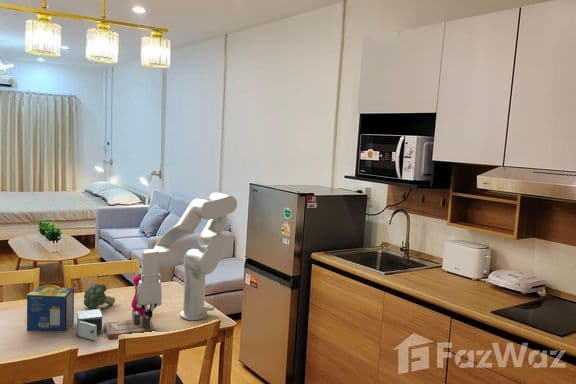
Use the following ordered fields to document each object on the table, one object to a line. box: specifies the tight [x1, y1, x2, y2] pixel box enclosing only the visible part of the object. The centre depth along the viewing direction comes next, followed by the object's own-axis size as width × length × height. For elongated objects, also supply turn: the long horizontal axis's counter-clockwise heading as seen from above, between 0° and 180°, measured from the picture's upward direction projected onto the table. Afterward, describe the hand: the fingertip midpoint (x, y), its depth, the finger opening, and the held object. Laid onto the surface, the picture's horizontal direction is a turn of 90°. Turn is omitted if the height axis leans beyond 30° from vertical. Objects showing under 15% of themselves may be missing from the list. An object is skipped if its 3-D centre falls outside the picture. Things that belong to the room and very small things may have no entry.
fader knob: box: [132, 311, 141, 325], centre depth 204 cm, size 2×4×4 cm, turn 27°
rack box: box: [76, 308, 103, 334], centre depth 199 cm, size 9×9×7 cm
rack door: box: [76, 319, 98, 341], centre depth 190 cm, size 10×2×6 cm, turn 67°
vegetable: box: [83, 283, 116, 310], centre depth 225 cm, size 12×13×15 cm
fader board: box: [103, 315, 157, 340], centre depth 201 cm, size 19×13×6 cm
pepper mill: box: [130, 271, 145, 317], centre depth 220 cm, size 7×7×20 cm
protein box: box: [26, 286, 75, 333], centre depth 199 cm, size 10×15×16 cm
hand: (148, 318), depth 207 cm, fingers closed
